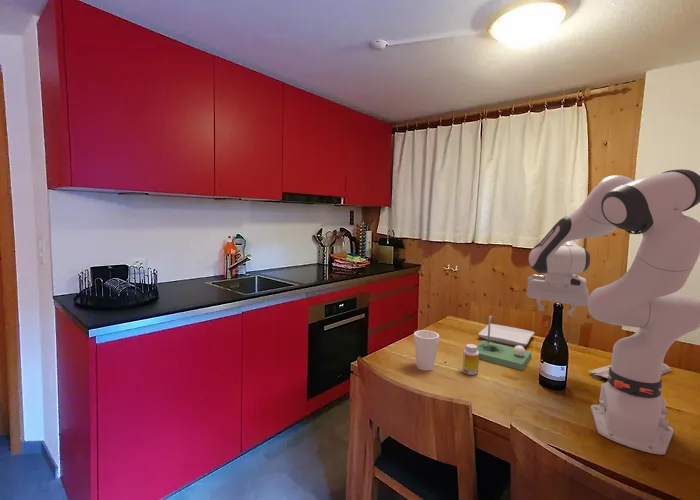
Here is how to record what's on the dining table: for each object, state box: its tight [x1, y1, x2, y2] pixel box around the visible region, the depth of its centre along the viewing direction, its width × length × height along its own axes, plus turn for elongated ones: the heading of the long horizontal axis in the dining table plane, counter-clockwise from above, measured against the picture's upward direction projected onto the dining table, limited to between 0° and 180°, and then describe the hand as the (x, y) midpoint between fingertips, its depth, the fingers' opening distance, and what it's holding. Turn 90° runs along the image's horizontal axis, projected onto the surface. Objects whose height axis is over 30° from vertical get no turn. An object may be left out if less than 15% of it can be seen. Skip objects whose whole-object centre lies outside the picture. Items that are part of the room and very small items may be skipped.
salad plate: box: [478, 323, 535, 347], centre depth 168 cm, size 21×21×3 cm
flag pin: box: [486, 314, 493, 343], centre depth 156 cm, size 4×1×12 cm, turn 142°
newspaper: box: [588, 362, 672, 380], centre depth 134 cm, size 35×12×4 cm, turn 117°
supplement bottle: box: [462, 343, 480, 376], centre depth 132 cm, size 6×6×10 cm
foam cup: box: [413, 329, 440, 372], centre depth 135 cm, size 10×9×13 cm
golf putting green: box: [475, 339, 532, 371], centre depth 146 cm, size 16×20×2 cm
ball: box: [513, 345, 526, 356], centre depth 142 cm, size 4×4×4 cm
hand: (554, 313), depth 134 cm, fingers open, 8 cm apart
